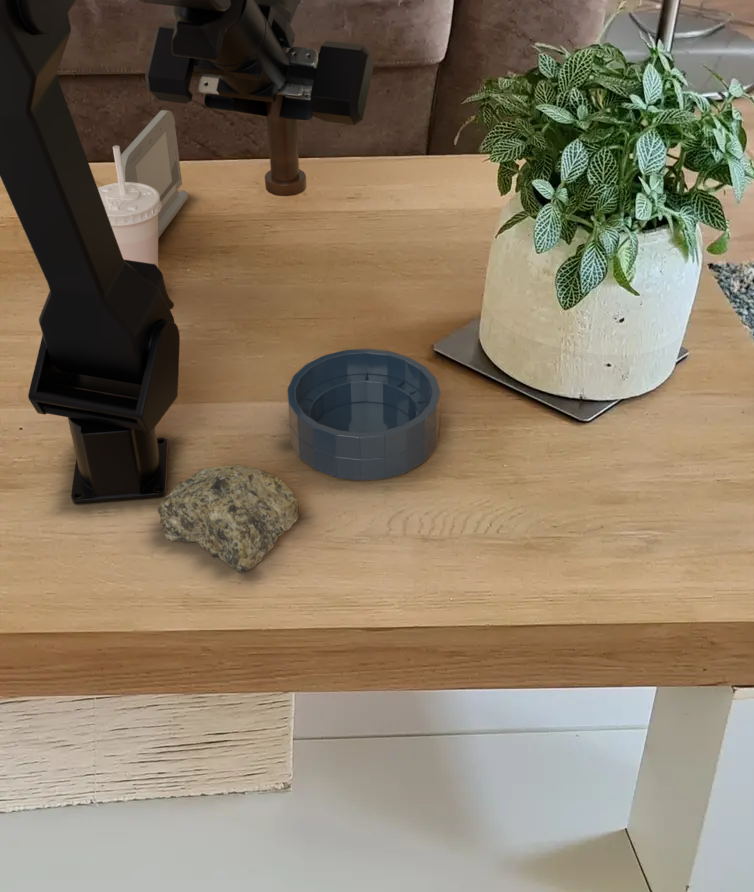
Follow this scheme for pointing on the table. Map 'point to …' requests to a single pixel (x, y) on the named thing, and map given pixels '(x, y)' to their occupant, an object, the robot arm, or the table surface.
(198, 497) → the rock
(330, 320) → the table surface
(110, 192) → the smoothie
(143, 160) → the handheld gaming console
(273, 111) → the brown wooden peg
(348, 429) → the bowl
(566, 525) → the table surface
